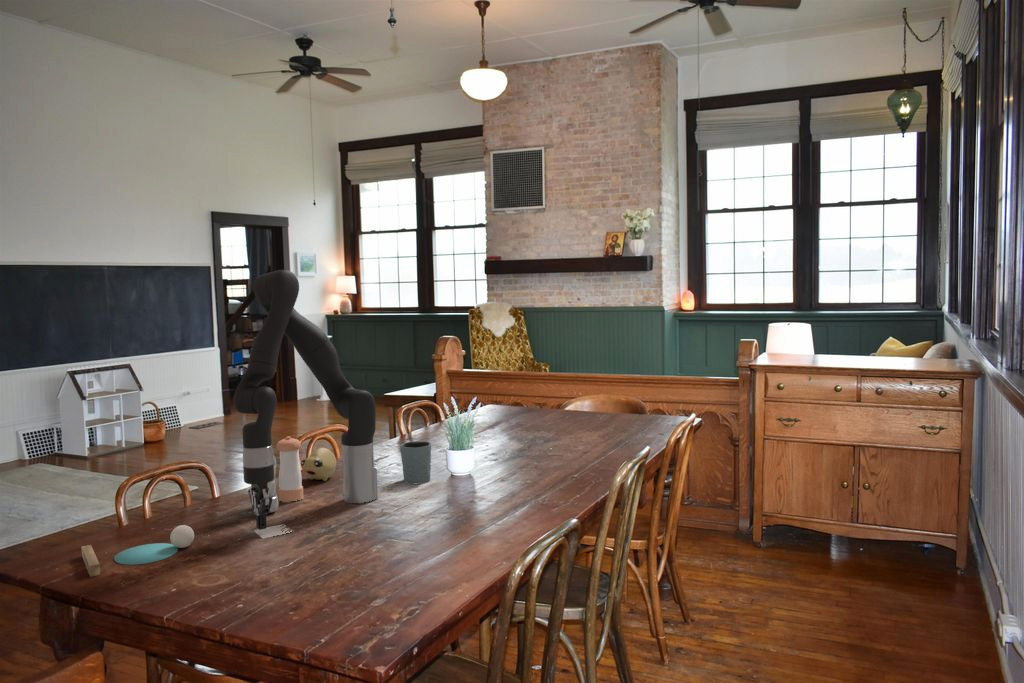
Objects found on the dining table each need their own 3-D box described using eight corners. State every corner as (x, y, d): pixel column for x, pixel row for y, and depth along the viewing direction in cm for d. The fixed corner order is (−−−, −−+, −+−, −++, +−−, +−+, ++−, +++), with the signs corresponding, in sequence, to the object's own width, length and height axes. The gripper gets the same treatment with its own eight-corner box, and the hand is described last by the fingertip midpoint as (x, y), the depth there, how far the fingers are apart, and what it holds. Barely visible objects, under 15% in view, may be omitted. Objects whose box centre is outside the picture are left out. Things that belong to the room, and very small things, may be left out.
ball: (194, 524, 194) (171, 522, 192) (197, 527, 189) (174, 526, 187) (190, 546, 194) (167, 544, 191) (193, 550, 189) (169, 549, 186)
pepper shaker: (273, 500, 229) (270, 437, 228) (290, 494, 236) (287, 433, 234) (291, 503, 226) (288, 439, 224) (308, 497, 232) (305, 435, 231)
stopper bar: (91, 554, 186) (90, 544, 186) (100, 574, 173) (99, 564, 173) (82, 556, 185) (81, 546, 185) (90, 576, 172) (89, 566, 172)
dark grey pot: (417, 486, 243) (415, 448, 242) (394, 481, 249) (393, 445, 248) (438, 479, 251) (437, 442, 250) (416, 474, 257) (415, 439, 256)
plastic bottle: (254, 517, 214) (251, 446, 212) (256, 510, 220) (252, 441, 219) (278, 514, 215) (275, 444, 214) (279, 508, 222) (276, 440, 220)
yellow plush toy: (295, 483, 248) (294, 451, 248) (316, 474, 260) (315, 443, 259) (322, 485, 245) (320, 453, 244) (342, 476, 257) (340, 445, 256)
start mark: (283, 524, 206) (283, 524, 206) (293, 532, 200) (293, 531, 200) (253, 530, 202) (253, 530, 202) (262, 539, 195) (262, 538, 195)
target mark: (171, 540, 196) (171, 539, 196) (183, 555, 184) (183, 554, 184) (110, 552, 188) (110, 551, 188) (119, 569, 176) (119, 568, 176)
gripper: (281, 465, 194) (284, 532, 196) (265, 456, 205) (268, 519, 207) (251, 470, 190) (254, 538, 191) (236, 460, 201) (239, 525, 202)
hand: (261, 528), depth 199 cm, fingers closed
